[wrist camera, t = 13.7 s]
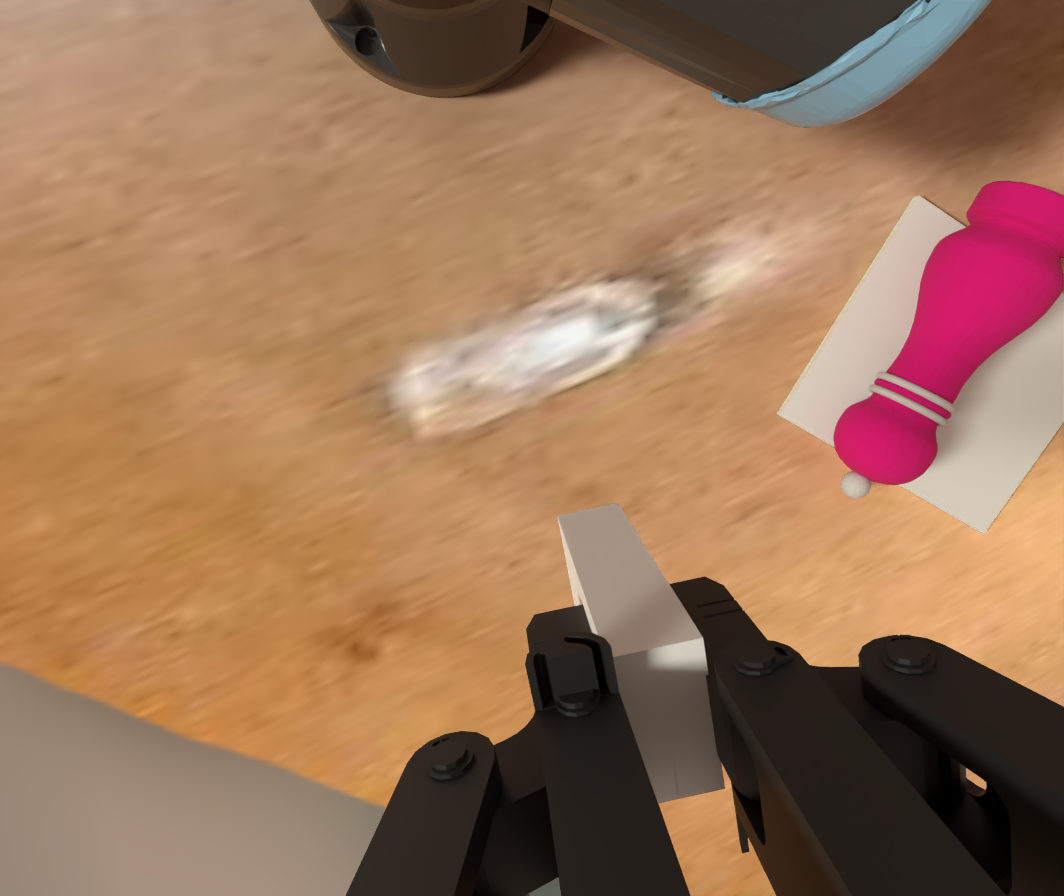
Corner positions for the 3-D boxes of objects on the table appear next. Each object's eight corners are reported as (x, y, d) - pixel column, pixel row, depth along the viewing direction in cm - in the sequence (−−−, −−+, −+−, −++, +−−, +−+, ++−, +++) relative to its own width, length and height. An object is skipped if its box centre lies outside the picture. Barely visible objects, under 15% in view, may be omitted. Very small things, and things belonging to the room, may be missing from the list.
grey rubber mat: (913, 196, 45) (919, 195, 44) (1117, 334, 48) (1125, 335, 47) (776, 414, 47) (780, 415, 47) (978, 531, 51) (983, 534, 50)
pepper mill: (949, 175, 43) (776, 455, 47) (1056, 174, 36) (843, 501, 41) (1022, 230, 46) (851, 492, 50) (1134, 239, 39) (925, 540, 43)
